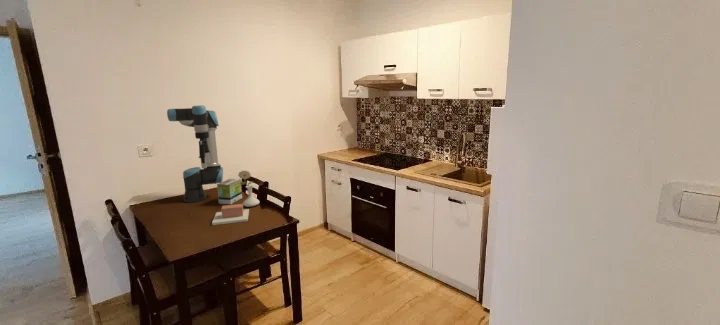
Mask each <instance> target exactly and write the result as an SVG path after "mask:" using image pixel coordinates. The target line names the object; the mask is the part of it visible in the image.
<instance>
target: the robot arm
mask: <svg viewBox="0 0 720 325" xmlns="http://www.w3.org/2000/svg"><path fill="white" fill-rule="evenodd" d="M166 115H167V119H168V121H169V122H179V123H180V125H183V126H186V127H189V128H193V129H194V132H195V133H194V135H195V139H199V141H198V146H199V147H198V148H199V150H198V152H199V153H198V154H199V156H198V159H200V166H201V167H200V166H195V167H190V168H187V169H185V170H183V172H182V178H183V183H184V184H183V185H184V195H183V202H184V203H198V202H203V201H205V200H206V199H207V198H208V197H207V194H206V192H205V190H204V186H206V185H214V184H215V185H217V184H219V183H221V182H223V178H224V168H223V166H222V165H221V164H220V163H219V160H218V148H217V141H216V140H217V139H216V131H217V128H218V127H219V126H220V125H219V121H218V117H217V113H216V111H214V110H207V108H206V106H205V105H192V107H187V108H169V109H167V110H166ZM203 185H204V186H203Z"/></svg>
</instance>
